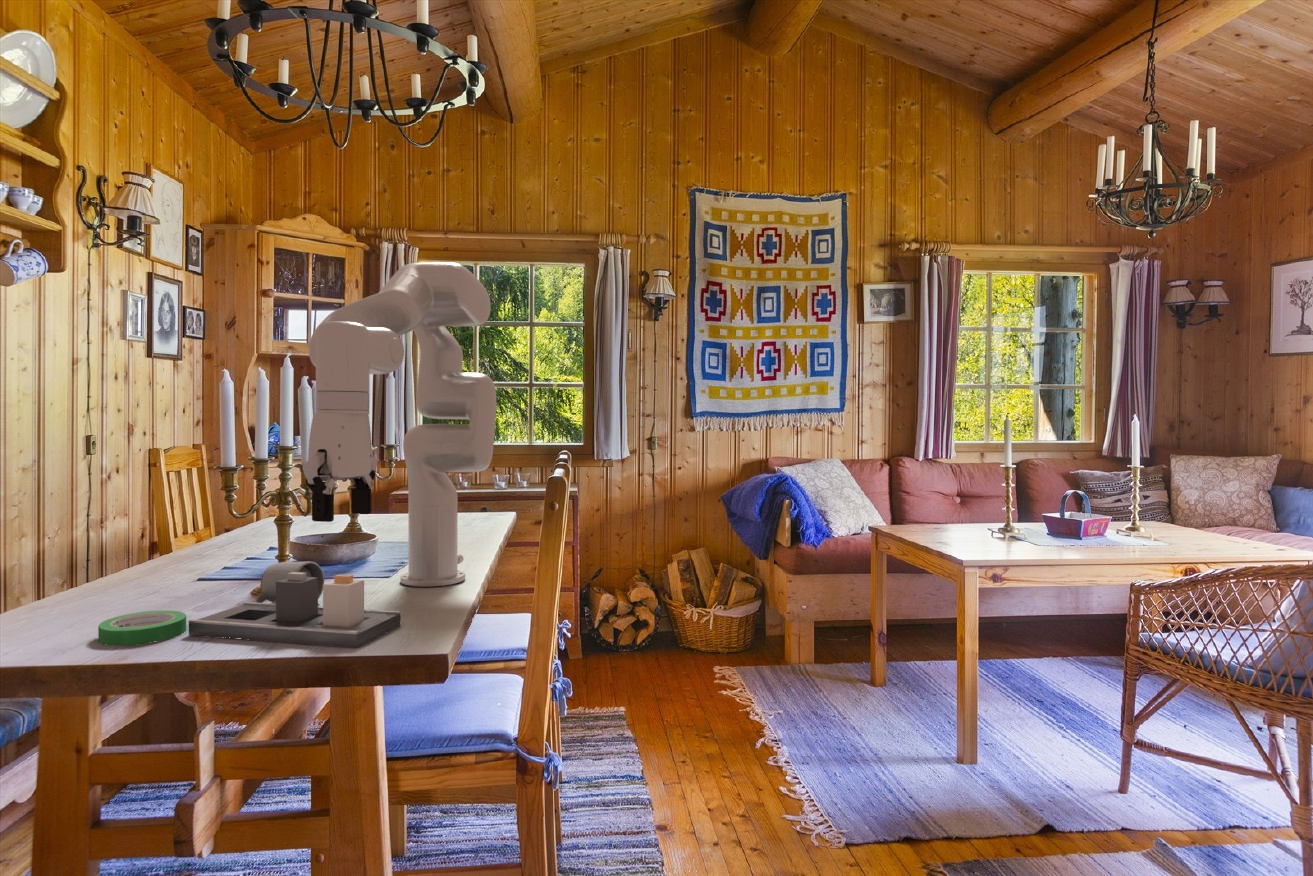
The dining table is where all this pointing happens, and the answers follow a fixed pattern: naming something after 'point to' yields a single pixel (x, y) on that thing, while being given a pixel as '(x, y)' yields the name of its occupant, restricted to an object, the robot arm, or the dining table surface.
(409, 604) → the dining table surface
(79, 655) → the dining table surface
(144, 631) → the tape roll
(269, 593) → the ceramic mug
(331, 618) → the white block orange tab
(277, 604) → the matte charcoal box
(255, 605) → the panel
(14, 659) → the dining table surface
